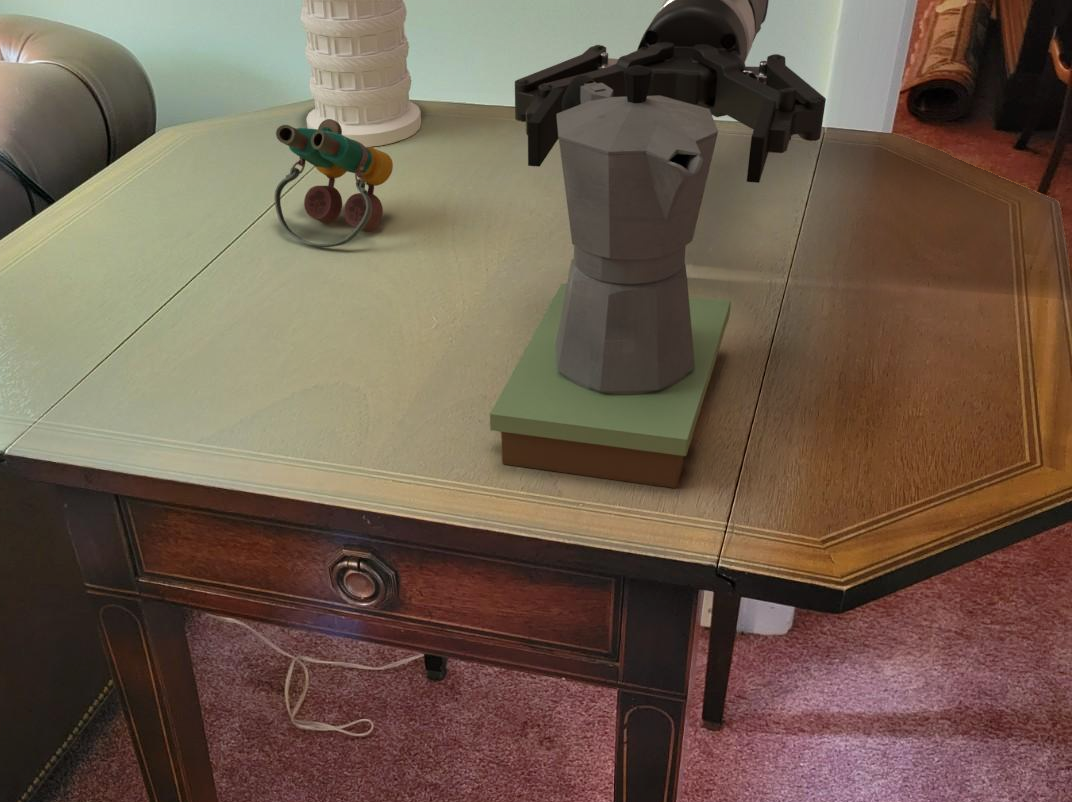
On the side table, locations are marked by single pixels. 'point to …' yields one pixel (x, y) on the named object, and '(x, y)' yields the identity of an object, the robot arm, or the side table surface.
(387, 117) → the decorative container
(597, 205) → the coffeepot
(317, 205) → the binoculars
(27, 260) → the side table surface
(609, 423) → the box with lid
